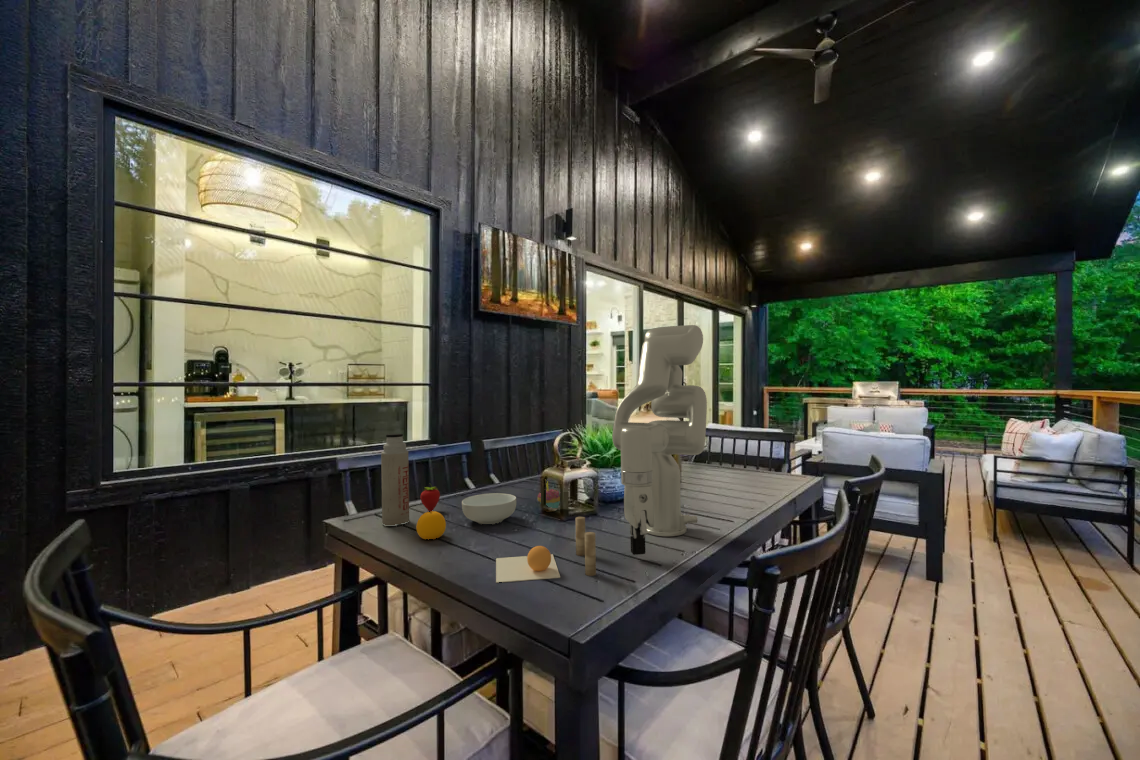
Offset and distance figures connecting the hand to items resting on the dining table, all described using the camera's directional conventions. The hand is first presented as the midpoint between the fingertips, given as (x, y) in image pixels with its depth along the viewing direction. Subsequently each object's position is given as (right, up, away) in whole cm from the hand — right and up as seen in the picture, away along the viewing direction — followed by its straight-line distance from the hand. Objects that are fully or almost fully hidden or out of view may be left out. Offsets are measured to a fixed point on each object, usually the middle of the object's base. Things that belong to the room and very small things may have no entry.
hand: (638, 553), depth 114 cm
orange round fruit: (-56, -3, +19) cm, 59 cm away
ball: (-24, +1, -6) cm, 24 cm away
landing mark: (-27, -2, -4) cm, 27 cm away
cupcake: (-23, -2, +45) cm, 51 cm away
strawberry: (-64, -3, +46) cm, 79 cm away
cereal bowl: (-42, -3, +34) cm, 54 cm away
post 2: (-12, -2, -8) cm, 14 cm away
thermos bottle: (-71, -3, +33) cm, 79 cm away
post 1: (-14, -2, +4) cm, 14 cm away
